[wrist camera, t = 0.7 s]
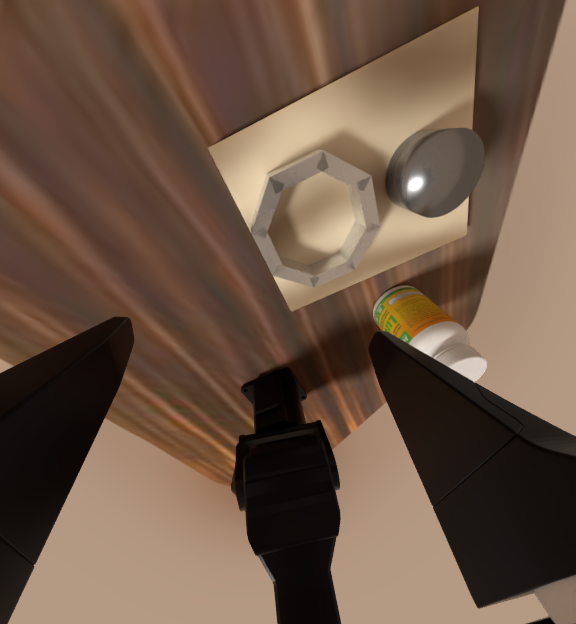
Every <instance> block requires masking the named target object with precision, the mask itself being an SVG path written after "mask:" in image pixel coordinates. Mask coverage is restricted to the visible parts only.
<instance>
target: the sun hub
mask: <svg viewBox="0 0 576 624" xmlns="http://www.w3.org/2000/svg"><path fill="white" fill-rule="evenodd" d="M484 160H485V150H484V145H483V142H482V140H481V138H480V136H479V135H478V134H477V133H476V132H475V131H473V130H471V129H468V128H447V129H431V130H422V131H419V132H417V133H414V134H413V135H411V136H409V137H408V138H407V139H406V140H404V141H403V142H402V143H401V144H400V146H399V147H398V148H397V149H396V151H395V152H394V154H393V156H392V157H391V160H390V162H389V164H388V167H387V171H386V177H385V187H386V192H387V195H388V197H389V199H390V200H391V201H392V202H393V203H394V204H395V205H397V206H399V207H401V208H404V209H406V210H409V211H411V212H413V213H416V214H418V215H421V216H423V217H427V218H435V217H440V216H443V215H446V214H448V213H450V212H451V211H453V210H454V209H456V208H457V207H458V206H460V205H461V204H462V203H463V202H464V201H465V200H466V199H467V198H468V196H469V195H470V194H471V193H472V191H473V189H474V188H475V186H476V184H477V183H478V181H479V178H480V176H481V173H482V170H483V166H484Z"/></svg>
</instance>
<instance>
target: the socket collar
mask: <svg viewBox="0 0 576 624" xmlns="http://www.w3.org/2000/svg"><path fill="white" fill-rule="evenodd" d="M320 172H322V173H324V174H326V175H329V176H331V177H333V178H335V179H337V180H339V181H341V182H343V183H345V184H347V186H348V190H349V195H350V199H351V203H352V208H353V212H354V216H355V222H354V224H353V226H352V228H351V230H350V232H349V234H348V235H347V237H346V239H345V241H344V243H343V245H342V247H341V249H340V251H339V252H338V253H335V254H333V255H331V256H329V257H327V258H324V259H322V260H320V261H318V262H315V263H313V264H311V265H306V264H303V263H300V262H297V261H294V260H291V259H288V258H285V257H282V256H279V254H278V252H277V250H276V248H275V245H274V243H273V241H272V239H271V237H270V235H269V232H268V229H269V226H270V223H271V220H272V218H273V215H274V212H275V209H276V206H277V204H278V201H279V198H280V195H281V192H282V191H283V190H285V189H287V188H289V187H291V186H293V185H295V184H297V183H300V182H302V181H304V180H306V179H308V178H310V177H312V176H314V175H316V174H318V173H320ZM379 228H380V223H379V217H378V211H377V205H376V199H375V193H374V187H373V182H372V176H371V175H369V174H367V173H366V172H364V171H362V170H360V169H358V168H356V167H354V166H352V165H350V164H349V163H347V162H345V161H343V160H341V159H339V158H337V157H335V156H333V155H332V154H330V153H328V152H326V151H324V150H317V149H315V150H313V151H311V152H309V153H307V154H305V155H303V156H301V157H299V158H297V159H295V160H293V161H291V162H289V163H287V164H285V165H283V166H281V167H279V168H277V169H275V170H273V171H271V172H269V173H267V174H266V176H265V180H264V183H263V186H262V189H261V192H260V195H259V198H258V202H257V205H256V208H255V211H254V214H253V217H252V221H251V224H250V229H251V234H252V236H253V238H254V240H255V241H256V243H257V245H258V247H259V249H260V251H261V253H262V255H263V257H264V259H265V261H266V263H267V265H268V267H269V269H270V271H271V273H272V275H273V276H275V277H279V278H282V279H285V280H289V281H292V282H295V283H299V284H302V285H305V286H309V287H312V288H315V287H317V286H320V285H322V284H324V283H327V282H329V281H331V280H333V279H336V278H338V277H340V276H342V275H345V274H347V273H349V272H351V271H354V270H355V269H356V268H357V266H358V264H359V262H360V261H361V259H362V257H363V256H364V254H365V252H366V250H367V249H368V247H369V245H370V244H371V242H372V240H373V238H374V237H375V235H376V233H377V232H378V230H379Z"/></svg>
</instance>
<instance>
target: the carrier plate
mask: <svg viewBox="0 0 576 624" xmlns="http://www.w3.org/2000/svg"><path fill="white" fill-rule="evenodd" d="M478 12H479V6H477V7H475V8H474V9H472V10H470V11H468V12H466V13H464V14H462V15H460V16H458V17H456V18H455V19H453V20H451V21H449V22H447V23H445V24H443V25H441V26H439V27H437V28H435V29H434V30H432V31H430V32H428V33H426V34H424V35H422V36H420V37H418V38H416V39H415V40H413V41H411V42H409V43H407V44H405V45H403V46H401V47H399V48H397V49H395V50H394V51H392V52H390V53H388V54H386V55H384V56H382V57H380V58H378V59H376V60H375V61H373V62H371V63H369V64H367V65H365V66H363V67H361V68H359V69H357V70H355V71H354V72H352V73H350V74H348V75H346V76H344V77H342V78H340V79H338V80H336V81H335V82H333V83H331V84H329V85H327V86H325V87H323V88H321V89H319V90H317V91H315V92H314V93H312V94H310V95H308V96H306V97H304V98H302V99H300V100H298V101H296V102H295V103H293V104H291V105H289V106H287V107H285V108H283V109H281V110H279V111H277V112H275V113H274V114H272V115H270V116H268V117H266V118H264V119H262V120H260V121H258V122H256V123H255V124H253V125H251V126H249V127H247V128H245V129H243V130H241V131H239V132H237V133H235V134H234V135H232V136H230V137H228V138H226V139H224V140H222V141H220V142H218V143H216V144H215V145H213V146H211V147H209V148H208V149H209V151H210V153H211V155H212V157H213V159H214V161H215V163H216V165H217V167H218V169H219V171H220V173H221V175H222V177H223V179H224V181H225V183H226V185H227V186H228V188H229V190H230V192H231V194H232V196H233V198H234V200H235V202H236V204H237V206H238V208H239V210H240V212H241V214H242V216H243V218H244V220H245V222H246V224H247V226H248V228H249V230H250V232H251V229H250V224H251V221H252V217H253V214H254V211H255V208H256V205H257V202H258V198H259V195H260V192H261V189H262V186H263V183H264V180H265V176H266V174H267V173H269V172H271V171H273V170H275V169H277V168H279V167H281V166H283V165H285V164H287V163H289V162H291V161H293V160H295V159H297V158H299V157H301V156H303V155H305V154H307V153H309V152H311V151H313V150H315V149H317V150H324V151H326V152H328V153H330V154H332V155H333V156H335V157H337V158H339V159H341V160H343V161H345V162H347V163H349V164H350V165H352V166H354V167H356V168H358V169H360V170H362V171H364V172H366V173H367V174H369V175H371V176H372V182H373V187H374V193H375V199H376V205H377V211H378V217H379V223H380V228H379V230H378V232H377V233H376V235H375V237H374V238H373V240H372V242H371V244H370V245H369V247H368V249H367V250H366V252H365V254H364V256H363V257H362V259H361V261H360V262H359V264H358V266H357V268H356V269H355V270H354V271H351V272H349V273H347V274H345V275H342V276H340V277H338V278H336V279H333V280H331V281H329V282H327V283H324V284H322V285H320V286H317V287H315V288H312V287H309V286H305V285H302V284H299V283H295V282H292V281H289V280H285V279H282V278H279V277H275V276H273V277H274V279H275V281H276V283H277V285H278V287H279V289H280V290H281V292H282V294H283V296H284V298H285V300H286V302H287V304H288V306H289V308H290V310H291V312H292V311H294V310H296V309H298V308H301V307H303V306H305V305H308V304H310V303H312V302H314V301H317V300H319V299H321V298H324V297H326V296H328V295H330V294H333V293H335V292H337V291H340V290H342V289H344V288H347V287H349V286H351V285H353V284H356V283H358V282H360V281H363V280H365V279H367V278H369V277H372V276H374V275H376V274H379V273H381V272H383V271H385V270H388V269H390V268H392V267H395V266H397V265H399V264H401V263H404V262H406V261H408V260H411V259H413V258H415V257H417V256H420V255H422V254H424V253H427V252H429V251H431V250H433V249H436V248H438V247H440V246H443V245H445V244H447V243H449V242H452V241H454V240H456V239H459V238H461V237H463V236H465V235H467V220H468V201H469V196H468V198H467V199H466V200H465V201H464V202H463V203H462V204H461V205H460V206H458V207H457V208H456V209H454V210H453V211H451V212H450V213H448V214H446V215H443V216H440V217H435V218H427V217H423V216H421V215H418V214H416V213H413V212H411V211H409V210H406V209H404V208H401V207H399V206H397V205H395V204H394V203H393V202H392V201H391V200H390V199H389V197H388V195H387V192H386V187H385V177H386V171H387V167H388V164H389V162H390V160H391V157H392V156H393V154H394V152H395V151H396V149H397V148H398V147H399V146H400V144H401V143H402V142H403V141H404V140H406V139H407V138H408V137H409V136H411V135H413V134H414V133H417V132H419V131H422V130H431V129H447V128H468V129H471V130H472V125H473V106H474V87H475V68H476V49H477V31H478ZM354 222H355V216H354V212H353V208H352V203H351V199H350V195H349V190H348V186H347V184H345V183H343V182H341V181H339V180H337V179H335V178H333V177H331V176H329V175H326V174H324V173H322V172H320V173H318V174H316V175H314V176H312V177H310V178H308V179H306V180H304V181H302V182H300V183H297V184H295V185H293V186H291V187H289V188H287V189H285V190H283V191H282V192H281V195H280V198H279V201H278V204H277V206H276V209H275V212H274V215H273V218H272V220H271V223H270V226H269V229H268V232H269V235H270V237H271V239H272V241H273V243H274V245H275V248H276V250H277V252H278V254H279V256H282V257H285V258H288V259H291V260H294V261H297V262H300V263H303V264H306V265H311V264H313V263H315V262H318V261H320V260H322V259H324V258H327V257H329V256H331V255H333V254H335V253H338V252H339V251H340V249H341V247H342V245H343V243H344V241H345V239H346V237H347V235H348V234H349V232H350V230H351V228H352V226H353V224H354Z"/></svg>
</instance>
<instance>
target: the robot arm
mask: <svg viewBox="0 0 576 624" xmlns="http://www.w3.org/2000/svg"><path fill="white" fill-rule="evenodd" d="M133 344H134V334H133V328H132V323H131V320H130V318H128V317H113V318H111V319H109V320H107V321H105V322H103V323H101V324H99V325H97V326H95V327H93V328H91V329H89V330H87V331H85V332H82V333H80V334H78V335H76V336H74V337H72V338H70V339H68V340H66V341H64V342H62V343H60V344H58V345H56V346H54V347H52V348H50V349H48V350H46V351H44V352H42V353H40V354H38V355H36V356H34V357H32V358H30V359H28V360H26V361H24V362H22V363H20V364H18V365H16V366H14V367H12V368H10V369H8V370H6V371H4V372H2V373H0V624H8V622H9V619H10V617H11V615H12V613H13V611H14V609H15V607H16V605H17V603H18V600H19V598H20V596H21V594H22V592H23V590H24V588H25V586H26V583H27V581H28V579H29V577H30V575H31V573H32V571H33V569H34V564H35V563H36V562H37V560H38V558H39V556H40V553H41V551H42V549H43V547H44V545H45V543H46V541H47V539H48V537H49V534H50V532H51V530H52V528H53V526H54V524H55V522H56V520H57V517H58V515H59V513H60V511H61V509H62V507H63V505H64V503H65V501H66V498H67V496H68V494H69V492H70V490H71V488H72V486H73V484H74V482H75V480H76V477H77V475H78V473H79V471H80V469H81V467H82V465H83V463H84V461H85V458H86V456H87V454H88V452H89V450H90V448H91V445H92V444H93V442H94V439H95V437H96V435H97V433H98V431H99V429H100V427H101V425H102V423H103V420H104V418H105V416H106V414H107V412H108V410H109V408H110V406H111V404H112V401H113V399H114V397H115V395H116V393H117V391H118V389H119V386H120V384H121V381H122V378H123V375H124V372H125V369H126V366H127V363H128V360H129V357H130V354H131V351H132V348H133ZM369 354H370V357H371V360H372V363H373V367H374V370H375V373H376V376H377V379H378V382H379V385H380V387H381V389H382V392H383V394H384V396H385V399H386V401H387V403H388V405H389V407H390V410H391V412H392V414H393V417H394V419H395V422H396V424H397V426H398V428H399V431H400V433H401V435H402V438H403V440H404V442H405V444H406V447H407V449H408V451H409V454H410V456H411V458H412V460H413V463H414V465H415V467H416V469H417V472H418V474H419V476H420V479H421V481H422V483H423V486H424V488H425V490H426V492H427V495H428V497H429V499H430V502H431V504H432V506H434V507H433V509H434V511H435V513H436V515H437V518H438V520H439V522H440V525H441V527H442V530H443V532H444V534H445V536H446V538H447V541H448V543H449V546H450V548H451V550H452V552H453V555H454V557H455V559H456V562H457V564H458V566H459V569H460V570H461V573H462V575H463V577H464V580H465V582H466V584H467V587H468V589H469V591H470V594H471V596H472V598H473V600H474V602H475V604H476V606H477V608H483V607H486V606H490V605H493V604H497V603H500V602H504V601H508V600H511V599H515V598H519V597H522V596H526V595H529V594H533V593H534V594H535V595H536V597H537V598H538V600H539V601H540V603H541V604H542V605H543V607H544V608H545V610H546V612H547V613H548V614H549V617H546V618H542V619H539V620H536V621H533V622H530V623H527V624H576V436H574V435H572V434H570V433H568V432H566V431H563V430H562V429H560V428H558V427H556V426H554V425H552V424H550V423H548V422H547V421H545V420H542V419H541V418H539V417H537V416H535V415H533V414H531V413H530V412H528V411H526V410H524V409H522V408H520V407H518V406H516V405H515V404H513V403H511V402H509V401H507V400H505V399H503V398H502V397H500V396H498V395H496V394H495V393H493V392H491V391H489V390H488V389H486V388H484V387H482V386H481V385H479V384H477V383H474V382H473V381H472V380H470V379H468V378H467V377H465V376H463V375H462V374H460V373H458V372H456V371H455V370H453V369H451V368H449V367H448V366H446V365H444V364H443V363H441V362H439V361H437V360H436V359H434V358H432V357H430V356H429V355H427V354H425V353H424V352H422V351H420V350H418V349H417V348H415V347H413V346H411V345H410V344H408V343H406V342H405V341H403V340H401V339H399V338H398V337H396V336H394V335H392V334H391V333H389V332H387V331H376V332H375V334H374V336H373V338H372V340H371V342H370V345H369ZM241 392H242V393H243V394H244V395H245V396H246V397H247V398H248V400H249V401H250V402H251V403H252V404H253V410H254V428H255V434H250V435H240V436H239V443H237V446H236V463H235V469H234V473H233V478H232V483H231V490H232V492H233V493H234V494H235V495H236V497H237V501H238V505H239V509H240V511H245V512H246V527H247V536H248V540H249V543H250V545H251V547H252V549H253V551H254V553H255V555H257V556H259V558H260V560H261V562H262V564H263V565H264V567H265V569H266V571H267V572H268V574H269V576H270V578H271V579H272V581H273V584H274V592H275V602H276V613H277V623H278V624H341V621H340V615H339V611H338V605H337V600H336V595H335V591H334V586H333V580H332V575H331V571H330V568H331V563H332V557H333V552H334V547H335V542H336V537H337V536H338V533H339V527H340V526H339V525H340V509H339V505H338V501H337V496H336V492H335V490H339V489H340V482H339V474H338V470H337V465H336V461H335V458H334V455H333V451H332V449H331V446H330V443H329V441H328V438H327V436H326V433H325V430H324V428H323V425H322V423H321V420H317V421H315V422H312V423H307V424H306V421H305V417H304V413H303V408H302V404H301V401H302V400H305V399H306V398H307V395H306V393H305V391H304V389H303V388H302V386H301V385H300V383H299V381H298V380H297V378H296V377H295V375H294V374H293V372H292V370H291V369H290V368H285V369H282V370H280V371H277V372H275V373H273V374H270V375H268V376H265V377H263V378H260V379H258V380H256V381H253V382H251V383H248V384H246V385H244V386H242V387H241Z"/></svg>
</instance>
